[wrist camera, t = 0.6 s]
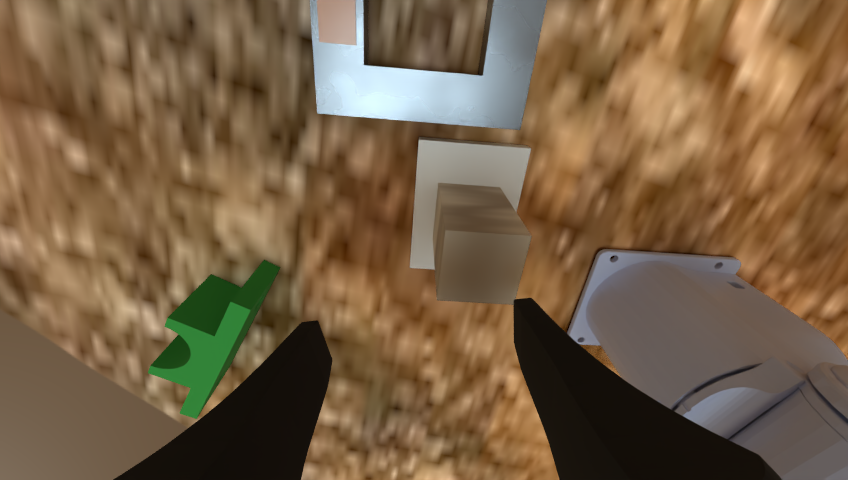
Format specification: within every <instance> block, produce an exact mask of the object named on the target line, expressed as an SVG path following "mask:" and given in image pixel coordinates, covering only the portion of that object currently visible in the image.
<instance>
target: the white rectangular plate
mask: <svg viewBox="0 0 848 480" xmlns="http://www.w3.org/2000/svg"><path fill="white" fill-rule="evenodd" d="M530 151H531V148H530V147H528V146H527V145H516V144H503V143H491V142H478V141H466V140H453V139H441V138H428V137H419V142H418V156H417V170H416V184H415V199H414V213H413V227H412V242H411V256H410V268H419V269H435V267H434V252H433V228H434V219H435V209H436V199H437V190H438V183H449V184H463V185H477V186H490V187H500V188H501V189H502V191H503V193H504V194H505V196H506V197H507V199H508V200H509V202H510V203H511V205H512V206H513V208H514V210H515V211H516V212H517V208H518V204H519V199H520V195H521V190H522V186H523V182H524V177H525V173H526V169H527V164H528V160H529V155H530Z"/></svg>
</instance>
